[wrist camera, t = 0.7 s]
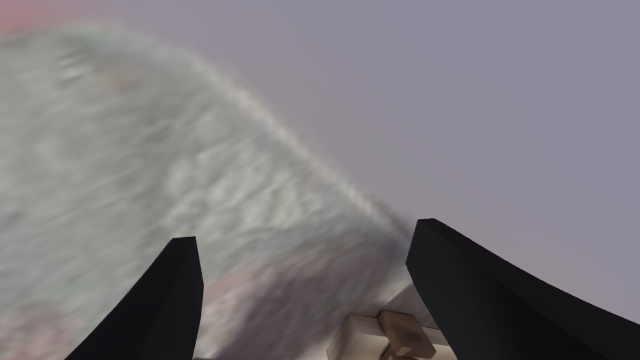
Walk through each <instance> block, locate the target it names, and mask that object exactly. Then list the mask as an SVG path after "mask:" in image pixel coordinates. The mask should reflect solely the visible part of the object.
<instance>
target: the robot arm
mask: <svg viewBox="0 0 640 360" xmlns="http://www.w3.org/2000/svg"><path fill="white" fill-rule="evenodd" d="M406 266H407V268H408V271H409V273H410V276H411V278H412V280H413V283H414V285H415V287H416V289H417V291H418V293H419V295H420V297H421V298H422V300H423V302H424V304H425V305H426V307H427V309H428V310H429V312H430V314H431V315H432V317H433V319H434V320H435V322H436V324H437V326H438V327H439V329H440V331H441V332H442V334H443V336H444V337H445V339H446V341H447V342H448V344H449V346H450V347H451V349H452V351H453V352H454V354H455V356H456V358H457V360H640V325H639V324H637V323H635V322H632V321H630V320H627V319H625V318H622V317H620V316H618V315H615V314H613V313H611V312H608V311H606V310H604V309H601V308H599V307H596V306H594V305H592V304H590V303H588V302H585V301H583V300H581V299H579V298H577V297H575V296H572V295H571V294H569V293H566V292H564V291H562V290H560V289H558V288H556V287H554V286H552V285H550V284H548V283H546V282H544V281H542V280H540V279H538V278H536V277H535V276H533V275H531V274H529V273H527V272H526V271H524V270H522V269H520V268H518V267H516V266H515V265H512V264H511V263H509V262H508V261H505V260H504V259H502V258H501V257H499V256H497V255H496V254H494V253H492V252H490V251H489V250H487V249H485V248H484V247H482V246H481V245H479V244H477V243H475V242H474V241H472V240H471V239H469V238H467V237H466V236H464V235H462V234H461V233H459V232H457V231H456V230H454V229H452V228H451V227H449V226H447V225H446V224H444V223H442V222H440V221H438V220H436V219H434V218H431V219H418V221H417V224H416V228H415V232H414V235H413V239H412V242H411V246H410V249H409V253H408V256H407V260H406ZM203 290H204V283H203V278H202V272H201V266H200V260H199V254H198V248H197V243H196V237H195V236H194V237H181V238H173V239H172V240H171V241H170V242H169V243H168V244H167V245H166V247H165V248H164V249H163V250H162V252H161V253H160V254H159V256H158V257H157V258H156V259H155V261H154V262H153V263H152V264H151V266H150V267H149V268H148V269H147V270H146V272H145V273H144V274H143V275H142V277H141V278H140V279H139V280H138V281H137V282H136V284H135V285H134V286H133V287H132V288H131V289H130V291H129V292H128V293H127V294H126V295H125V296H124V298H123V299H122V300H121V301H120V302H119V303H118V304H117V306H116V307H115V308H114V309H113V310H112V311H111V312H110V313H109V314H108V315H107V316H106V317H105V318H104V319H103V321H102V322H101V323H100V324H99V325H98V326H97V327H96V328H95V329H94V330H93V331H92V332H91V333H90V334H89V335H88V336H87V338H86V339H85V340H84V341H83V342H82V343H81V344H80V345H79V346H78V347H77V348H76V349H75V350H74V351H73V352H72V353H71V354H69V355H68V356H67V357H66V358H65V359H64V360H192V357H193V353H194V348H195V344H196V339H197V334H198V329H199V324H200V320H201V311H202V301H203Z"/></svg>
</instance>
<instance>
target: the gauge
mask: <svg viewBox="0 0 640 360" xmlns="http://www.w3.org/2000/svg"><path fill="white" fill-rule="evenodd" d="M378 320H379V322H380V324H381V326H382V328H383V330H384V332H385V334H386V336H387V338H388V340H389V342H390V344H391V346H390V348H389V349H388V351H387V352H386V353H385V355H384V356H383V358H382V359H381V360H419V359H418V358H424V359H431V358H432V357H433V356H434V355H435V353H436V352H437V351H436V349H435V348H434V346H433V345H432V343H431V341H430V340H429V338H428V337H427V335H426V333H425V332H424V330H423V329H422V327H421V326H420V324H419V322H418V321H417V319H416V318H415V316H410V315H404V314H399V313H394V312H389V311H382V312H381V314H380V315H379V317H378ZM413 357H416V358H413Z"/></svg>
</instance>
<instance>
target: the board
mask: <svg viewBox="0 0 640 360" xmlns="http://www.w3.org/2000/svg"><path fill="white" fill-rule="evenodd" d="M422 329H423V330H424V332H425V333H426V335H427V337H428V338H429V340H430V341H431V343H432V345H433V346H434V348H435V349H436V351H437V352H436V353H435V355H434V356H433V357H432V358H431V359H424V358H418V359H419V360H457V358H456V356H455V354H454V352H453V351H452V349H451V347H450V346H449V344H448V342H447V341H446V339H445V337H444V336H443V334H442V332H441V331H440V330H438V329H432V328H426V327H422ZM390 346H391V344H390V342H389V340H388V338H387V336H386V334H385V332H384V330H383V328H382V326H381V324H380V322H379V320H378V319H375V318H369V317H363V316H357V315H352V314H349V316H348V317H347V319H346V320H345V322H344V324H343V325H342V327H341V328H340V330H339V331H338V333H337V335H336V336H335V338H334V339H333V341H332V343H331V344H330V346H329V347H328V349H327V351H326V354H327V357H328V360H381V359H382V358H383V356H384V355H385V353H386V352H387V351H388V349H389V348H390ZM413 358H416V357H413Z"/></svg>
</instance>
